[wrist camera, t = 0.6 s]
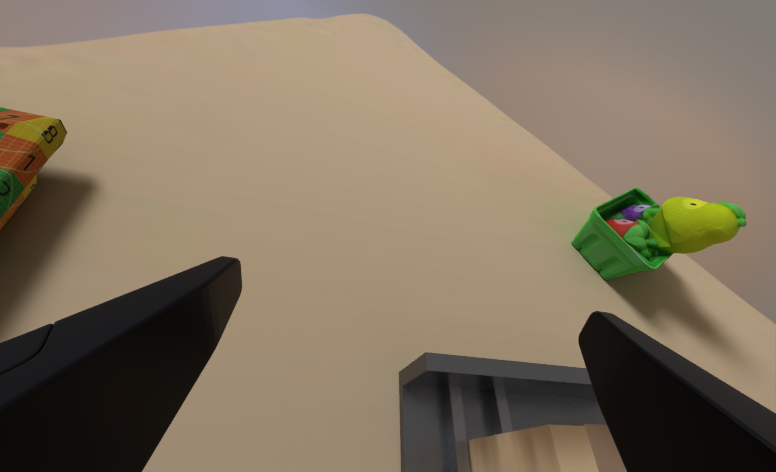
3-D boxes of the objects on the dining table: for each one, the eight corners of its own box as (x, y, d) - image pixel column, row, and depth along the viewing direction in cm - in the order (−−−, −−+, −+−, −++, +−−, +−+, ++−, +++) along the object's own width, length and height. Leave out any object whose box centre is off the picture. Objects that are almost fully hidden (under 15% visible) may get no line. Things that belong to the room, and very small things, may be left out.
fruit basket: (602, 211, 43) (691, 144, 34) (658, 267, 40) (771, 208, 31) (555, 237, 37) (648, 163, 28) (617, 305, 34) (742, 245, 25)
